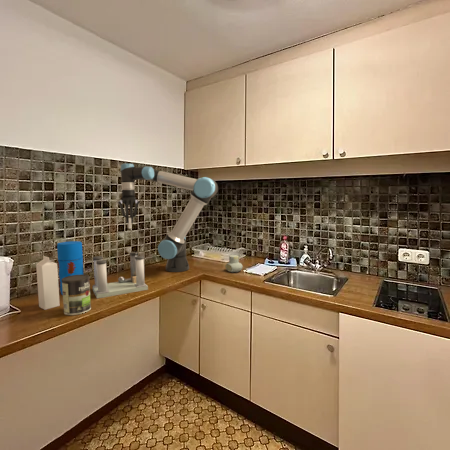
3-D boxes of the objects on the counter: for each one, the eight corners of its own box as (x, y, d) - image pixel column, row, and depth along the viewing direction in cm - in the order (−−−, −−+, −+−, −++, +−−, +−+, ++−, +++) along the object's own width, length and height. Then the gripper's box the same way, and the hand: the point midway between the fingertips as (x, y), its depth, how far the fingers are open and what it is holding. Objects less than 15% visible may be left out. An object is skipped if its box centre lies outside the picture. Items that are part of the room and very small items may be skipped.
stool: (139, 281, 160) (138, 251, 158) (147, 289, 146) (146, 256, 144) (92, 289, 147) (90, 256, 145) (97, 298, 133) (95, 262, 132)
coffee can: (96, 306, 123) (94, 274, 122) (79, 316, 113) (77, 281, 112) (75, 305, 125) (73, 273, 124) (57, 314, 115) (55, 280, 114)
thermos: (60, 297, 136) (57, 245, 133) (59, 291, 145) (56, 242, 142) (85, 293, 141) (83, 243, 139) (83, 287, 150) (80, 240, 148)
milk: (53, 303, 128) (50, 254, 126) (59, 305, 125) (57, 256, 123) (38, 307, 123) (35, 256, 122) (44, 310, 120) (41, 258, 118)
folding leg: (138, 278, 158) (137, 251, 157) (140, 280, 154) (139, 252, 153) (117, 281, 153) (116, 253, 152) (119, 283, 149) (117, 255, 148)
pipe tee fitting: (244, 272, 179) (244, 256, 178) (234, 274, 174) (233, 258, 173) (234, 268, 188) (233, 253, 187) (223, 270, 183) (223, 255, 182)
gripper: (137, 190, 179) (138, 227, 182) (115, 189, 173) (117, 228, 175) (140, 189, 173) (142, 228, 175) (118, 189, 166) (120, 229, 168)
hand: (129, 228), depth 175 cm, fingers closed
